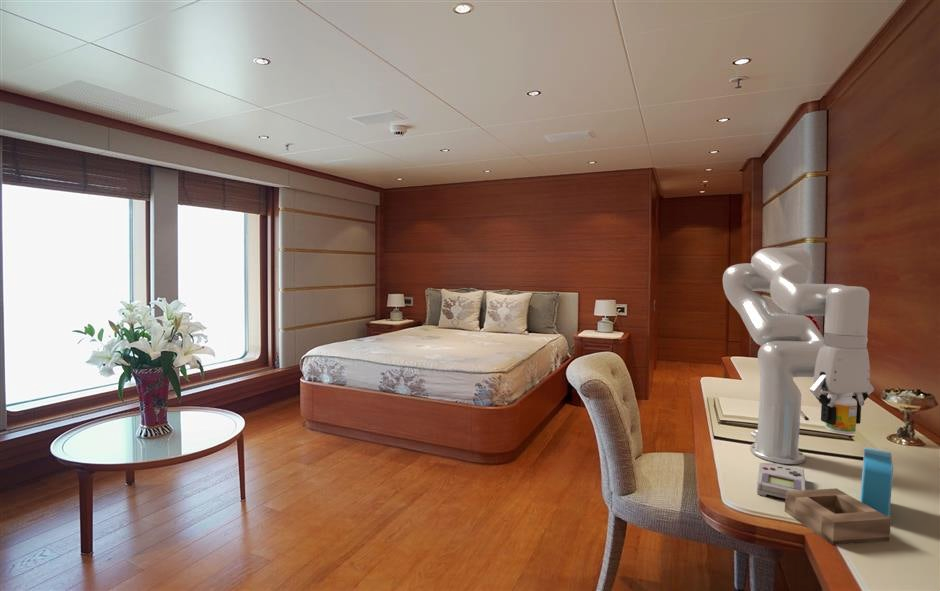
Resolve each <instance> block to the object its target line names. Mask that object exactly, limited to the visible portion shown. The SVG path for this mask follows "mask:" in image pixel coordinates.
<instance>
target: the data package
mask: <svg viewBox="0 0 940 591" xmlns="http://www.w3.org/2000/svg"><path fill="white" fill-rule="evenodd" d="M863 450H864V451H863V459H862V460H863V461H862V474H861V475H862V476H861V485H860V486H861V487H860V502H862V503H864V504H866V505H867V506H869V507H871V508H873V509H875V510H876V511H878V512H880V513H882V514H884V515H885V516H887V517H889V518H890V513H891V512H890V511H891V503H892V502H891V500H892V490H893V489H892V488H893V480H894V479H893V478H894V477H893V476H894V465H893V459H892V458H893V457H892V452H890V451H886V450H881V449H876V448H872V447H867V446H865V447H864V448H863Z"/></svg>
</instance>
